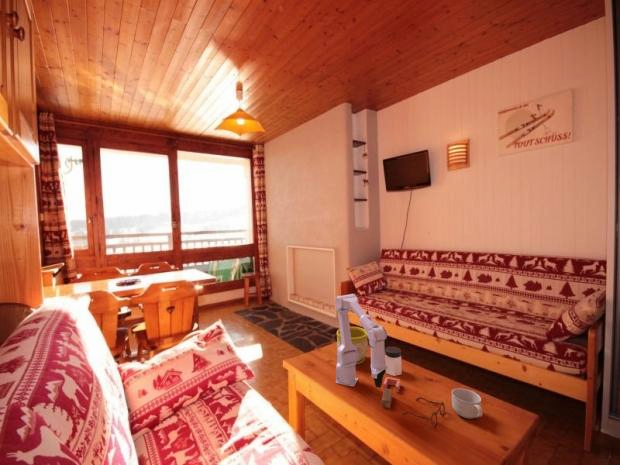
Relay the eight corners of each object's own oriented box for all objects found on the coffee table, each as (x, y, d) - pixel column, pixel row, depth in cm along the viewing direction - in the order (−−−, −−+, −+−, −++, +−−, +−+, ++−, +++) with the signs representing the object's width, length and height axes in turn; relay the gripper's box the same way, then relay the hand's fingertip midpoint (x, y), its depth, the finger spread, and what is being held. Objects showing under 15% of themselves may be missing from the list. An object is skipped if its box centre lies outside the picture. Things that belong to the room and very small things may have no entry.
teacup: (447, 405, 127) (447, 387, 126) (472, 405, 126) (472, 387, 126) (463, 428, 113) (462, 408, 112) (492, 428, 112) (491, 407, 112)
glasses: (433, 429, 113) (433, 417, 113) (401, 415, 122) (401, 403, 122) (445, 412, 123) (445, 401, 122) (415, 400, 132) (415, 389, 131)
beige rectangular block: (382, 407, 127) (382, 399, 127) (384, 395, 136) (384, 388, 135) (389, 408, 126) (389, 401, 126) (391, 396, 134) (391, 389, 134)
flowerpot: (365, 369, 159) (364, 339, 159) (333, 364, 166) (332, 336, 165) (370, 355, 176) (370, 328, 175) (341, 351, 182) (341, 325, 182)
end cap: (383, 389, 140) (383, 383, 140) (386, 382, 146) (386, 376, 146) (398, 392, 137) (398, 386, 137) (400, 385, 143) (400, 379, 143)
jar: (402, 376, 151) (402, 353, 150) (386, 375, 152) (385, 353, 152) (400, 368, 159) (400, 346, 159) (385, 367, 161) (384, 345, 161)
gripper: (383, 364, 117) (384, 398, 118) (390, 350, 130) (391, 380, 131) (366, 361, 120) (367, 394, 121) (374, 347, 133) (375, 376, 134)
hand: (378, 386), depth 126 cm, fingers closed
